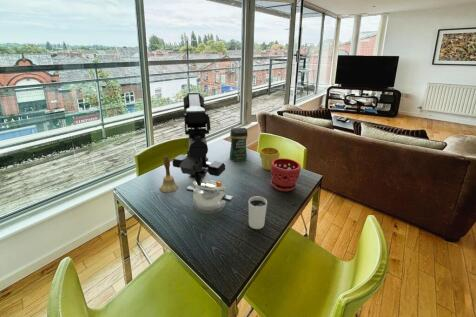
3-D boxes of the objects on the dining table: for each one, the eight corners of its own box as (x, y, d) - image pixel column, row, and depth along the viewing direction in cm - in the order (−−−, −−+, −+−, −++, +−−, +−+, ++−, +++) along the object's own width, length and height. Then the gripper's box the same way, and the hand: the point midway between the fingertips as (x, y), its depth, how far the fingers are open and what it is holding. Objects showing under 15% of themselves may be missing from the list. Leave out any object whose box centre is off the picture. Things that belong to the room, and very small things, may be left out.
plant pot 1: (277, 172, 132) (279, 155, 128) (257, 170, 134) (258, 153, 130) (278, 164, 141) (280, 148, 137) (260, 162, 143) (261, 146, 139)
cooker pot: (180, 206, 104) (179, 194, 101) (197, 190, 115) (196, 178, 113) (224, 219, 97) (224, 206, 94) (238, 200, 108) (238, 188, 106)
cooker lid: (186, 185, 98) (187, 179, 98) (202, 180, 111) (203, 174, 110) (216, 192, 94) (217, 186, 94) (230, 186, 106) (231, 180, 106)
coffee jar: (231, 162, 142) (231, 130, 134) (228, 156, 149) (228, 126, 141) (248, 161, 144) (249, 130, 136) (244, 155, 151) (245, 125, 143)
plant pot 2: (292, 196, 112) (295, 172, 107) (265, 188, 118) (267, 165, 113) (301, 183, 122) (304, 161, 117) (275, 176, 128) (277, 155, 123)
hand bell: (182, 185, 119) (179, 154, 112) (170, 194, 112) (167, 161, 105) (168, 181, 122) (164, 150, 115) (156, 189, 115) (151, 157, 108)
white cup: (245, 227, 93) (246, 204, 89) (250, 216, 99) (252, 194, 95) (262, 231, 91) (264, 208, 87) (267, 220, 97) (269, 198, 92)
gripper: (160, 150, 84) (165, 190, 91) (210, 160, 78) (211, 202, 84) (179, 139, 94) (182, 176, 100) (225, 147, 87) (225, 186, 94)
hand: (199, 185), depth 94 cm, fingers closed
